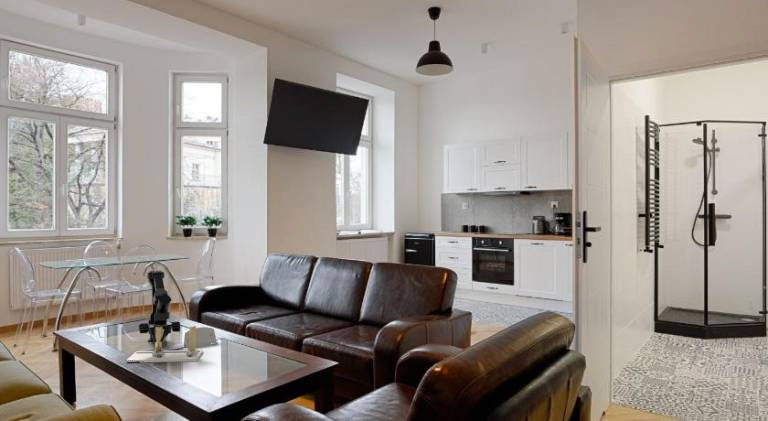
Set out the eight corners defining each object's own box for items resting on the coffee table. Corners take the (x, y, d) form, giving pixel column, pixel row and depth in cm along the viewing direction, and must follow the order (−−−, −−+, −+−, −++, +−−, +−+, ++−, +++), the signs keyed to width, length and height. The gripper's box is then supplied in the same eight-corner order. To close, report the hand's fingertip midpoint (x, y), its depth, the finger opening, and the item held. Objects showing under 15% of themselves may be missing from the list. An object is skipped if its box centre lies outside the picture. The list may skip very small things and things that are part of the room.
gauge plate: (136, 353, 234) (137, 324, 234) (202, 352, 239) (203, 323, 239) (125, 362, 220) (126, 331, 220) (196, 361, 225) (197, 330, 225)
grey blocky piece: (185, 347, 246) (184, 328, 248) (183, 348, 249) (182, 329, 252) (217, 343, 255) (216, 325, 258) (215, 344, 259) (213, 326, 262)
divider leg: (154, 352, 232) (155, 325, 232) (164, 352, 232) (165, 325, 232) (150, 356, 225) (151, 329, 225) (160, 356, 226) (161, 329, 226)
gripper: (140, 307, 230) (135, 335, 220) (180, 305, 237) (178, 332, 226) (142, 319, 238) (137, 346, 227) (181, 317, 244) (179, 344, 234)
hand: (158, 342), depth 228 cm, fingers closed on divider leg, 3 cm apart
